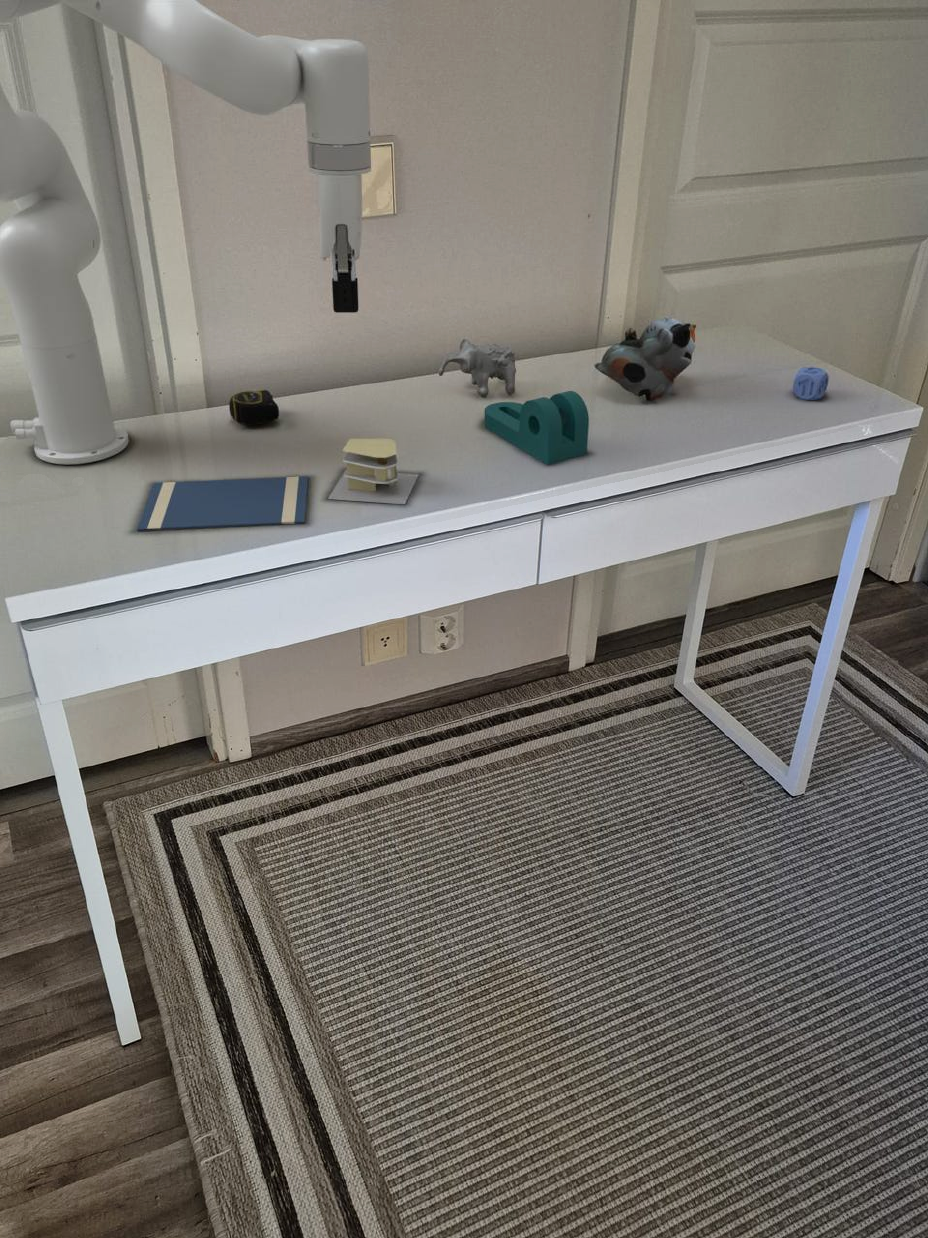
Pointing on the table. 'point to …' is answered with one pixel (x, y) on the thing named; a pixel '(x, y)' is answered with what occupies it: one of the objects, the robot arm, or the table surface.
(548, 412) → the bracket
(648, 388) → the lucky cat figurine
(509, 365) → the gray elephant figurine
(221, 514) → the cloth
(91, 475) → the table surface
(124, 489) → the table surface
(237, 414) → the tape measure
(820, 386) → the decorative dice
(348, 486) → the stacked layers on plate
